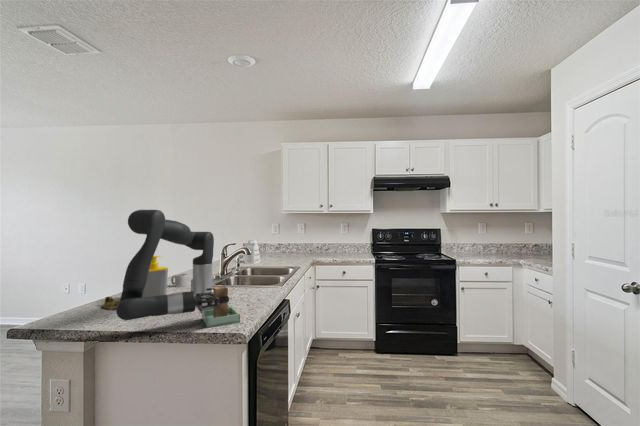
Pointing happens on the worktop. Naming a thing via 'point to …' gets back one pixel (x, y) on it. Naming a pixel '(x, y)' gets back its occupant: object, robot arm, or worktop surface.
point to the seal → (110, 304)
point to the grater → (253, 254)
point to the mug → (179, 280)
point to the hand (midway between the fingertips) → (226, 297)
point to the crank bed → (208, 307)
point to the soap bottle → (156, 280)
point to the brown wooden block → (222, 307)
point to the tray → (220, 318)
